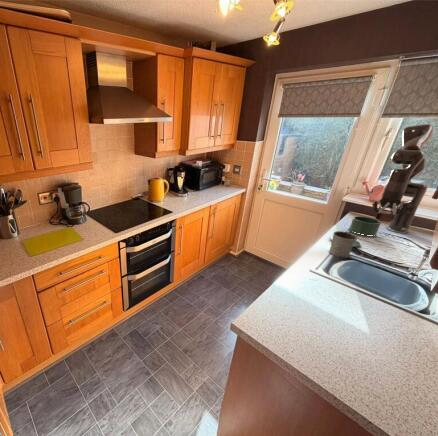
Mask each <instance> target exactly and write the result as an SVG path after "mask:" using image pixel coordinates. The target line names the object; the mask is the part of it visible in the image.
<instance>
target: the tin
mask: <svg viewBox="0 0 438 436" xmlns="http://www.w3.org/2000/svg"><path fill="white" fill-rule="evenodd" d="M381 222H382V221H379V220H377V219H376V218H372V217H369V216H368V217H366V216H362V215H361V216H359V215H357V216H353V218H352V221H351V223H350V227H349V229H348V231H349V233H350V234H353V235H355V236H359V237H365V238H375V237H376V236H377V235H378V232H379V229H380V227H381ZM352 231H353V232H352ZM354 232H356V233H354ZM357 233H360V234H357ZM361 234H364V235H361ZM367 235H373V236H367ZM374 235H375V236H374Z"/></svg>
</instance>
